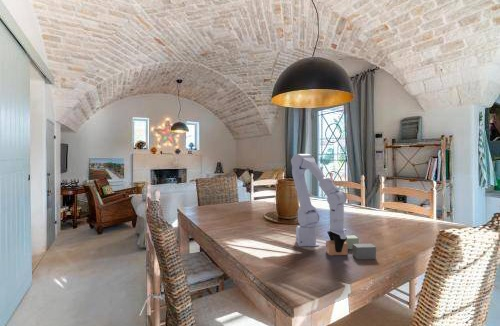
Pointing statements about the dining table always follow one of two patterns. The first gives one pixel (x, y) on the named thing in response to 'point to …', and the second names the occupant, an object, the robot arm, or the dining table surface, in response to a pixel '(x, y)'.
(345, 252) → the terracotta block
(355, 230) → the dining table surface
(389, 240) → the dining table surface
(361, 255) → the charcoal block
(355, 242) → the sage block
